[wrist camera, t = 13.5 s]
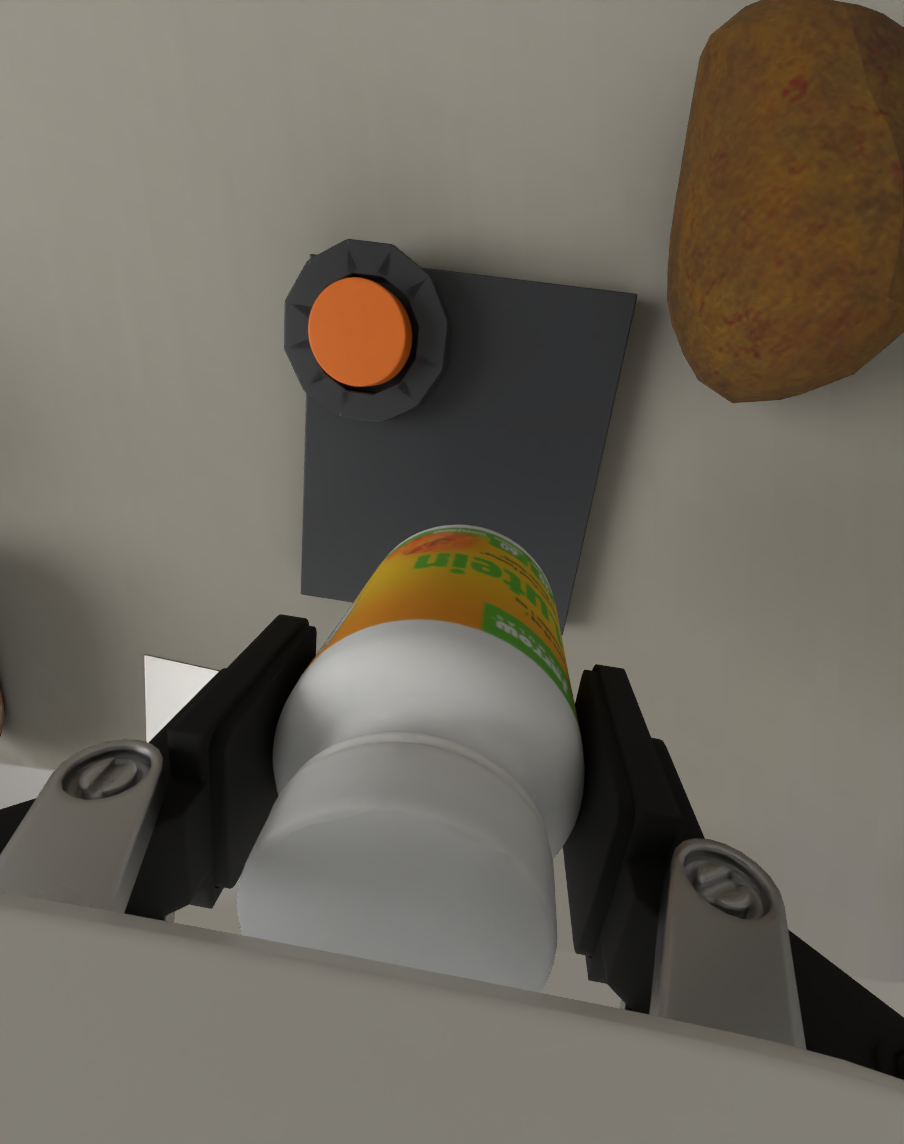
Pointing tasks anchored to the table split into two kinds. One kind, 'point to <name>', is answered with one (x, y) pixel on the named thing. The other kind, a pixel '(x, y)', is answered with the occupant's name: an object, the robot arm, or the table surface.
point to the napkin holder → (170, 690)
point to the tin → (1, 712)
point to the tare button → (359, 332)
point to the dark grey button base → (456, 418)
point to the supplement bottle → (427, 771)
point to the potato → (791, 200)
